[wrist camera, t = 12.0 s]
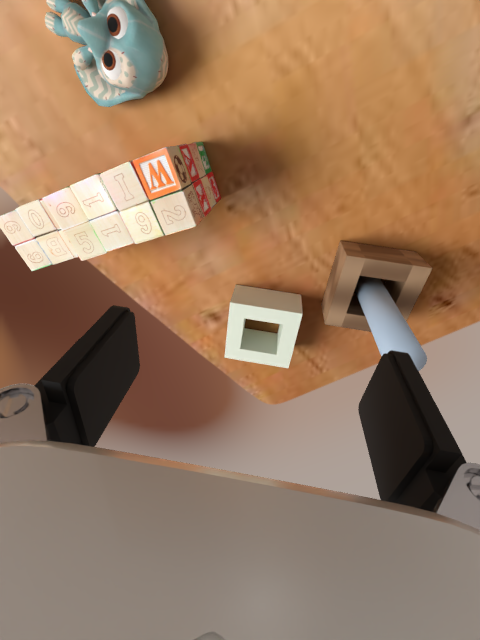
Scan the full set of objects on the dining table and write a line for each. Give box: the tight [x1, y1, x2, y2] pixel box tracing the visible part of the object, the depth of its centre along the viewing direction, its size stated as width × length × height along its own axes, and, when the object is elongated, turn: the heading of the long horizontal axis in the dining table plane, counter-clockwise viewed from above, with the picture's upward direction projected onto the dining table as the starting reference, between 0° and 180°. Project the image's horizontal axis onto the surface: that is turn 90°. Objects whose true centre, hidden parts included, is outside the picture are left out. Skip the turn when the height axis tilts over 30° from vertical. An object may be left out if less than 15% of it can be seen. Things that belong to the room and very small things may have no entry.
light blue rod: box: [355, 276, 427, 371], centre depth 32 cm, size 3×3×16 cm
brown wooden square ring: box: [321, 241, 432, 332], centre depth 37 cm, size 9×9×5 cm
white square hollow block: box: [225, 285, 303, 368], centre depth 42 cm, size 9×9×5 cm
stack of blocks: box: [0, 142, 221, 271], centre depth 32 cm, size 21×6×12 cm, turn 108°
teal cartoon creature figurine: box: [45, 0, 168, 107], centre depth 27 cm, size 11×7×12 cm
